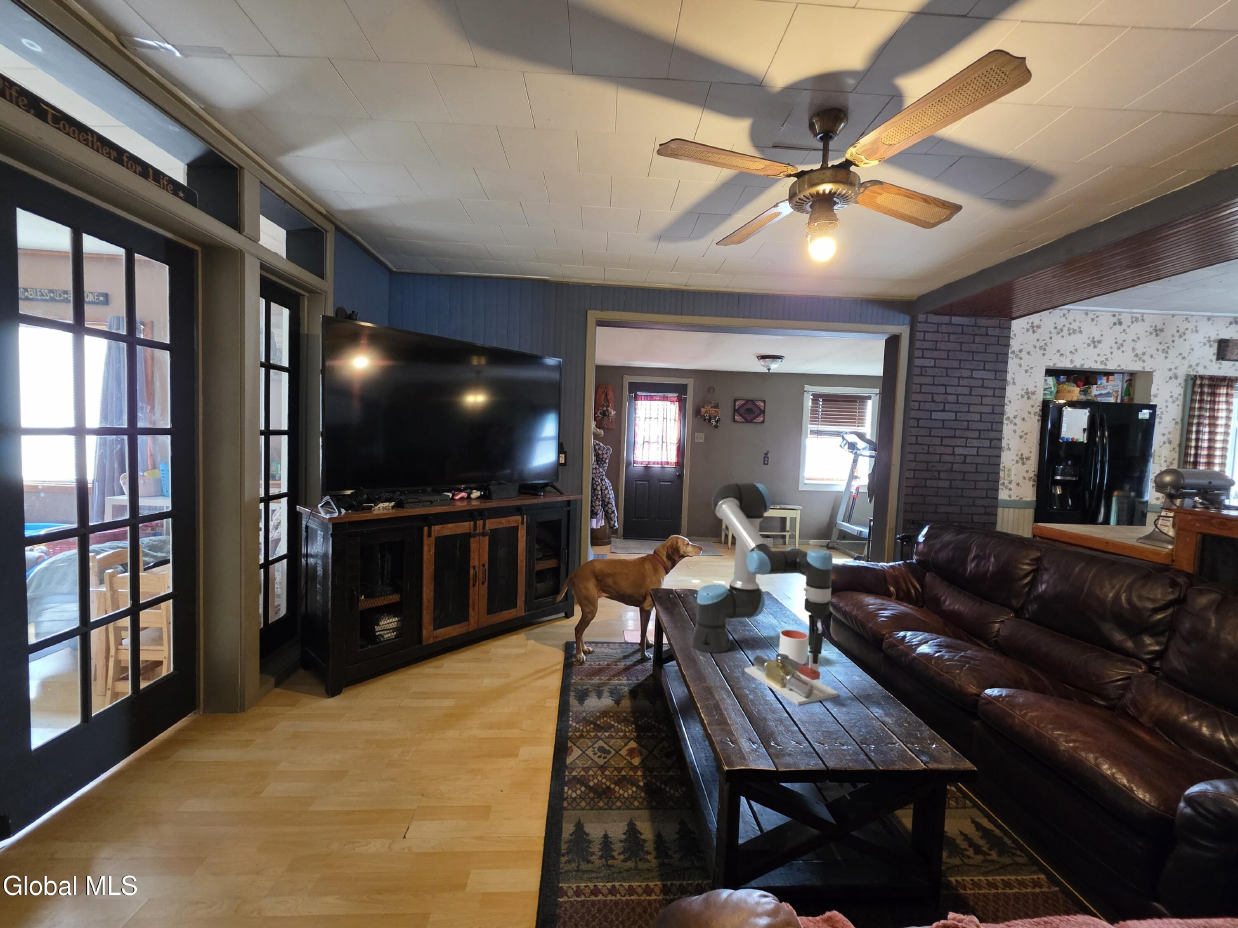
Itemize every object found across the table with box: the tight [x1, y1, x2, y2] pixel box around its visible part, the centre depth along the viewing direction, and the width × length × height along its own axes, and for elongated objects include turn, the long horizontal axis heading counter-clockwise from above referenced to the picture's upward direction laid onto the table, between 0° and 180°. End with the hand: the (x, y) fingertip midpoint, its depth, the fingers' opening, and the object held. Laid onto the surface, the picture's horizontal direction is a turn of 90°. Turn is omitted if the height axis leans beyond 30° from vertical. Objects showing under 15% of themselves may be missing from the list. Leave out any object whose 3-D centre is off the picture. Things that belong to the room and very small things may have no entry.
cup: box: [778, 629, 809, 665], centre depth 197 cm, size 10×10×10 cm
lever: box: [775, 653, 821, 681], centre depth 171 cm, size 16×4×2 cm, turn 27°
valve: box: [752, 654, 813, 698], centre depth 177 cm, size 24×7×7 cm, turn 25°
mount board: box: [744, 665, 839, 706], centre depth 179 cm, size 26×17×1 cm, turn 25°
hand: (813, 671), depth 169 cm, fingers closed
